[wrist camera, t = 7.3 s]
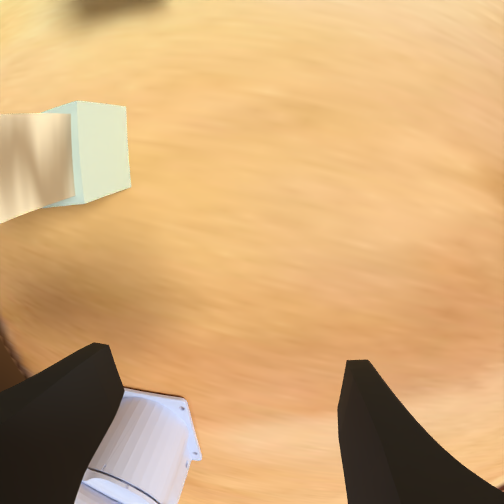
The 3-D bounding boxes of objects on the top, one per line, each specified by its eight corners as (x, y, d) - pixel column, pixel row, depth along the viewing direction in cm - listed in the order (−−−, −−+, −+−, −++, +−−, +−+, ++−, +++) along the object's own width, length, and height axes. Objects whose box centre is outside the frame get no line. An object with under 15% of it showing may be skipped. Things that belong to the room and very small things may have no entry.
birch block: (75, 195, 13) (0, 223, 8) (24, 200, 14) (-43, 225, 9) (70, 113, 12) (-8, 114, 7) (19, 129, 12) (-52, 137, 8)
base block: (131, 186, 18) (84, 203, 13) (71, 193, 18) (21, 210, 14) (126, 106, 16) (77, 100, 12) (65, 121, 17) (13, 123, 12)
